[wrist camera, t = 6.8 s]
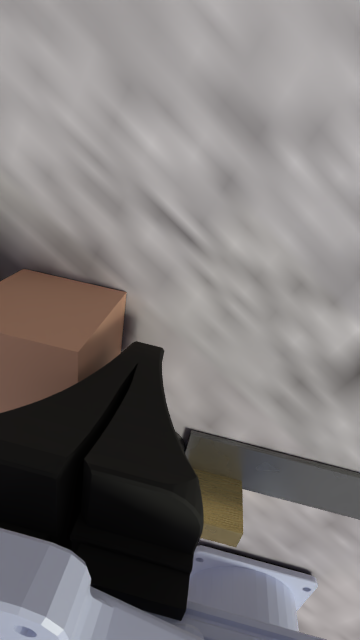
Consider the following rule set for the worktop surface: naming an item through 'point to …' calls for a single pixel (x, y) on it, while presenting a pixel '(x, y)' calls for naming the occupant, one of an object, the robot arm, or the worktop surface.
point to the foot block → (54, 334)
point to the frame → (262, 483)
